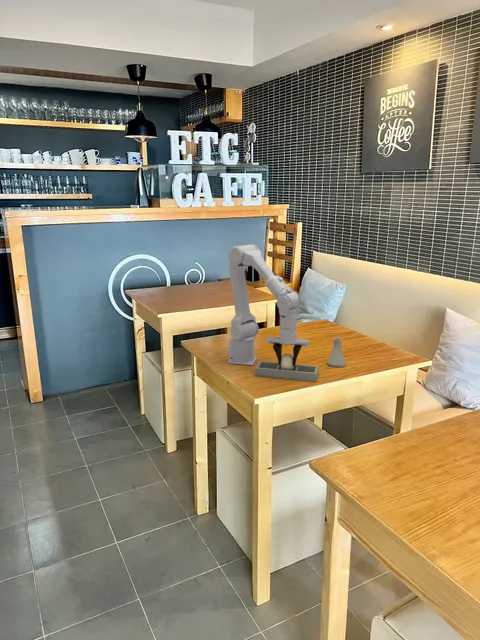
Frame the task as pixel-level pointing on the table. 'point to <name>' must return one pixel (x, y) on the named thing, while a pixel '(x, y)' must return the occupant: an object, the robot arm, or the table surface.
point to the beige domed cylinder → (287, 362)
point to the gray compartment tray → (287, 371)
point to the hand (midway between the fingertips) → (287, 364)
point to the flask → (336, 355)
